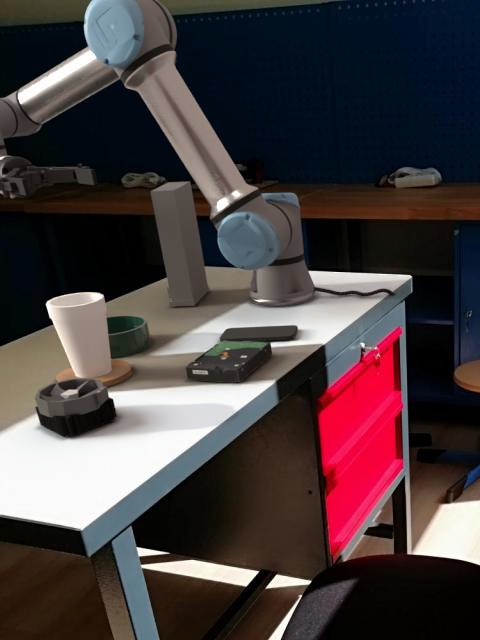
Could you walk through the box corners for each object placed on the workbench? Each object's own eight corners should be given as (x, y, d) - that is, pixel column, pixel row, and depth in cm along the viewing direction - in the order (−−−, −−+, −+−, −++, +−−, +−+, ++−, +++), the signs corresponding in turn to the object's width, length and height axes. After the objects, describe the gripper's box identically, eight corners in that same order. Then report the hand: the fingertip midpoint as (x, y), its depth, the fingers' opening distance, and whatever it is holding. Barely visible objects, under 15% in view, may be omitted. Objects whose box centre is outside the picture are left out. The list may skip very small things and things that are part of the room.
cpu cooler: (22, 391, 116) (82, 371, 123) (33, 425, 119) (91, 404, 126) (55, 406, 110) (117, 385, 117) (65, 442, 113) (125, 419, 120)
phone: (226, 327, 156) (298, 324, 155) (227, 331, 157) (298, 328, 156) (218, 339, 150) (292, 336, 149) (218, 343, 150) (293, 340, 149)
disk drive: (241, 385, 131) (273, 355, 143) (238, 369, 129) (271, 340, 141) (186, 382, 133) (222, 352, 145) (183, 366, 132) (220, 338, 144)
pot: (163, 337, 156) (158, 315, 153) (129, 359, 145) (124, 336, 142) (105, 335, 159) (99, 314, 156) (68, 357, 148) (62, 334, 145)
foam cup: (103, 382, 132) (84, 307, 125) (56, 380, 134) (35, 307, 127) (129, 363, 140) (113, 292, 133) (84, 362, 142) (66, 292, 135)
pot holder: (145, 365, 141) (144, 360, 141) (108, 391, 130) (106, 386, 130) (83, 363, 144) (82, 358, 144) (42, 388, 133) (40, 383, 133)
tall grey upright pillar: (184, 292, 187) (164, 182, 174) (209, 291, 187) (190, 181, 174) (169, 307, 175) (146, 191, 162) (195, 306, 175) (174, 190, 162)
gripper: (74, 187, 165) (124, 193, 152) (-44, 205, 150) (1, 214, 137) (65, 149, 161) (116, 152, 148) (-57, 163, 146) (-12, 168, 133)
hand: (61, 182), depth 142 cm, fingers open, 13 cm apart
